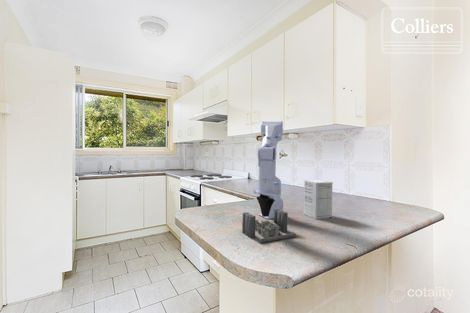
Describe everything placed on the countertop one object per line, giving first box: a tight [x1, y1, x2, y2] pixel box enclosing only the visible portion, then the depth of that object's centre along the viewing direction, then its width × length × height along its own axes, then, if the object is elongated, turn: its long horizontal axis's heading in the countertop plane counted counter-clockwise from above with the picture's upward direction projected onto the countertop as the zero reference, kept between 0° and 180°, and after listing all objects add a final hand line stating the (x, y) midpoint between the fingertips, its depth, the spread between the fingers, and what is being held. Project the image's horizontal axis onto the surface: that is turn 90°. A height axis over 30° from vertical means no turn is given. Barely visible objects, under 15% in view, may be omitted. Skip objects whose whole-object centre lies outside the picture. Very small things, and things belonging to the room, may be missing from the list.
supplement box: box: [303, 179, 333, 220], centre depth 106 cm, size 10×9×17 cm
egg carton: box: [255, 219, 280, 238], centre depth 82 cm, size 11×8×4 cm
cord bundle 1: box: [241, 212, 257, 239], centre depth 78 cm, size 2×7×7 cm, turn 26°
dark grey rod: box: [258, 232, 297, 244], centre depth 74 cm, size 15×1×1 cm, turn 116°
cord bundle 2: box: [273, 209, 289, 233], centre depth 85 cm, size 2×7×7 cm, turn 26°
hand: (265, 215), depth 82 cm, fingers closed
